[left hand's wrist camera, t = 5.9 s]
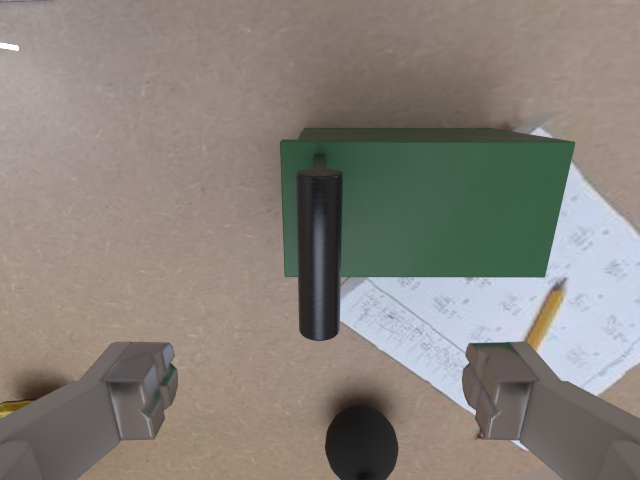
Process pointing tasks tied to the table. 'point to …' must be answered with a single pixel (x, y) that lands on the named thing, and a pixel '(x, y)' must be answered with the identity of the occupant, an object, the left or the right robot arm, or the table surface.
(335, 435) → the bomb
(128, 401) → the left robot arm
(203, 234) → the table surface
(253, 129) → the table surface
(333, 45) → the table surface
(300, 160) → the lid
